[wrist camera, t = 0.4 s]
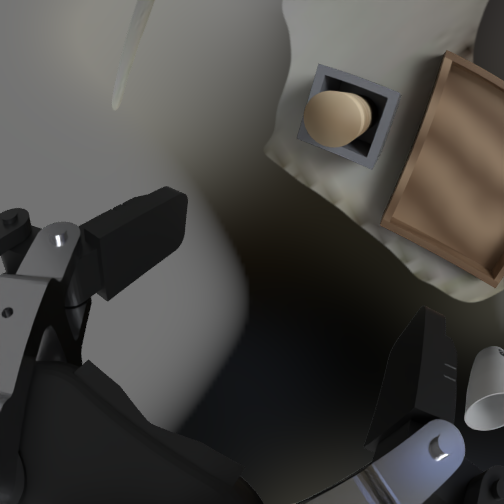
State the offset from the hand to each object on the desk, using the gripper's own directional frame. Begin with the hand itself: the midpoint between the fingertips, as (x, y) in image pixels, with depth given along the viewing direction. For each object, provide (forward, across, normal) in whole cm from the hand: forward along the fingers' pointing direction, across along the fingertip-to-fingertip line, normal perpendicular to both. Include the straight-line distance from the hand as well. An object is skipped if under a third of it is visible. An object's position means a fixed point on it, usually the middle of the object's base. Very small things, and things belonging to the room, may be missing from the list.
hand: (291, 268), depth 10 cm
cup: (+27, -28, +20) cm, 44 cm away
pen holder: (+28, +3, -2) cm, 28 cm away
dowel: (+27, +3, -2) cm, 27 cm away
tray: (+28, -11, -2) cm, 30 cm away
